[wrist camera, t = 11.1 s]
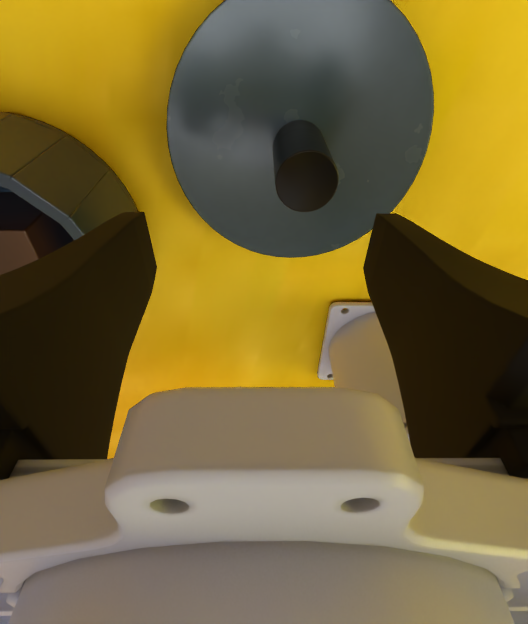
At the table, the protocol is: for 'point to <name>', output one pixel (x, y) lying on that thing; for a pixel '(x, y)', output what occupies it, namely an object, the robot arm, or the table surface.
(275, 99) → the lid
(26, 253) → the block
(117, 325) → the robot arm
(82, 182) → the tin
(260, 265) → the table surface
